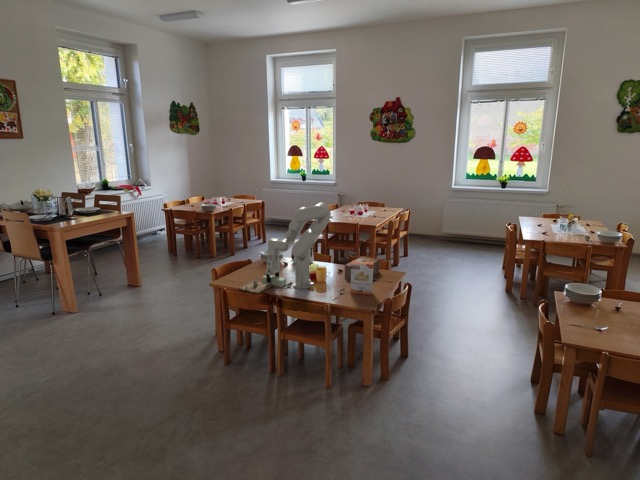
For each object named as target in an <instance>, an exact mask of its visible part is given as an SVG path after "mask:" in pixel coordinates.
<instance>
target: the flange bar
mask: <svg viewBox="0 0 640 480" xmlns="http://www.w3.org/2000/svg"><path fill="white" fill-rule="evenodd" d="M270 277H271V283H268V282H267V277H266V275H263V276H262V277H261V279H262V283H266V284H271V285H272V286H275V287H280V288H282V287H283V288H284V286H286V285H287V278H284V277H280V276H279V277H276V276H275V275H273V274H271V276H270Z"/></svg>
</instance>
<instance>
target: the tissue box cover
mask: <svg viewBox="0 0 640 480" xmlns="http://www.w3.org/2000/svg"><path fill="white" fill-rule="evenodd" d="M353 261H361V262H374V263H373V276H375V275H376V274H378V273H379V272H380V259H377V258H374V257H367V256H364V255H363V256H359V257H358V258H356V259H354V260H353ZM351 263H352V261H351V262H348V263H346V264H345V265H344V279H349V280H351ZM377 272H378V273H377ZM374 274H375V275H374Z"/></svg>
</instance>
